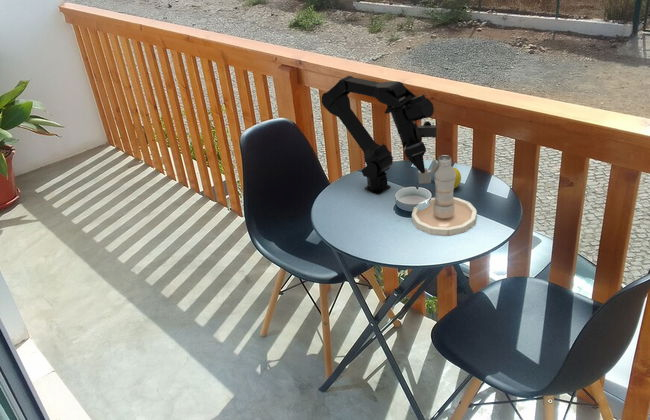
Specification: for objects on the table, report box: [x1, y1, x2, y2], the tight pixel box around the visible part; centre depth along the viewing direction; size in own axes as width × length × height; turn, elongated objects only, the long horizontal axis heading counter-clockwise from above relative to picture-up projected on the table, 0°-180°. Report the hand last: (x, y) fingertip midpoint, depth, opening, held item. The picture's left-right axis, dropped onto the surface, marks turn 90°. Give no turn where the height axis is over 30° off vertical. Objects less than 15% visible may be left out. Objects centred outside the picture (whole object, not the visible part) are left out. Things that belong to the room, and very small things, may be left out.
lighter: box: [417, 159, 439, 185], centre depth 201 cm, size 7×2×8 cm, turn 83°
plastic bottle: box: [433, 154, 456, 219], centre depth 177 cm, size 6×7×20 cm
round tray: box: [411, 196, 478, 237], centre depth 182 cm, size 19×19×2 cm
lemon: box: [453, 167, 462, 189], centre depth 195 cm, size 6×6×8 cm
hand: (422, 169), depth 185 cm, fingers open, 9 cm apart
